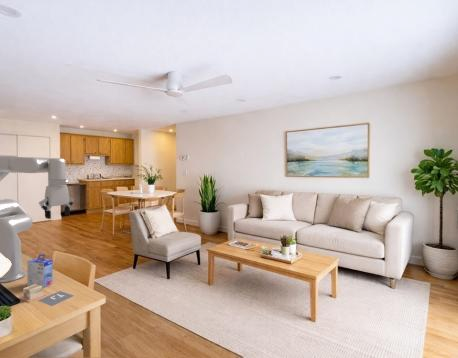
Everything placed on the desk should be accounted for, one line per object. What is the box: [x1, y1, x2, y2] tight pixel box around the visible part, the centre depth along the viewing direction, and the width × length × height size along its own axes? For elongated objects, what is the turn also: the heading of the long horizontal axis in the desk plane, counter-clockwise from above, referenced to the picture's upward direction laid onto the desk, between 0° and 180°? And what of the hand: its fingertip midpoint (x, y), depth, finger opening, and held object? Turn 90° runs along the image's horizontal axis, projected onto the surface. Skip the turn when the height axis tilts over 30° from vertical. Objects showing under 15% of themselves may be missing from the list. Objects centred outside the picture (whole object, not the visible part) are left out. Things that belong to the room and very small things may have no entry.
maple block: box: [22, 284, 43, 300], centre depth 121 cm, size 5×5×4 cm
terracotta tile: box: [19, 292, 47, 303], centre depth 121 cm, size 7×7×1 cm
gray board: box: [37, 290, 75, 307], centre depth 121 cm, size 10×10×1 cm
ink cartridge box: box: [26, 253, 54, 289], centre depth 133 cm, size 10×6×14 cm, turn 78°
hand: (57, 216), depth 138 cm, fingers open, 9 cm apart
